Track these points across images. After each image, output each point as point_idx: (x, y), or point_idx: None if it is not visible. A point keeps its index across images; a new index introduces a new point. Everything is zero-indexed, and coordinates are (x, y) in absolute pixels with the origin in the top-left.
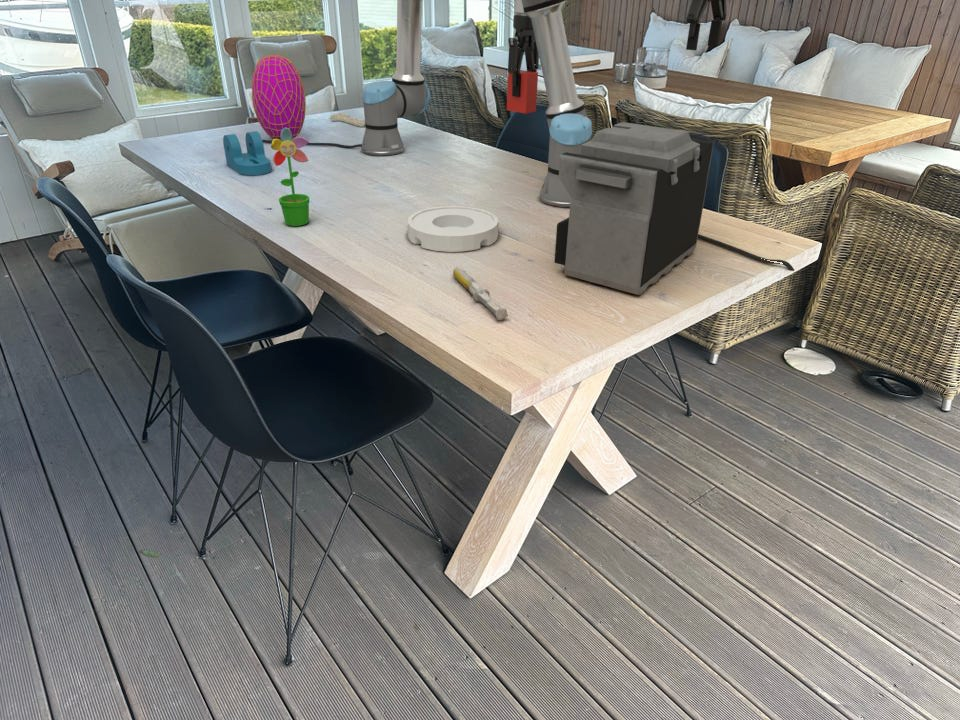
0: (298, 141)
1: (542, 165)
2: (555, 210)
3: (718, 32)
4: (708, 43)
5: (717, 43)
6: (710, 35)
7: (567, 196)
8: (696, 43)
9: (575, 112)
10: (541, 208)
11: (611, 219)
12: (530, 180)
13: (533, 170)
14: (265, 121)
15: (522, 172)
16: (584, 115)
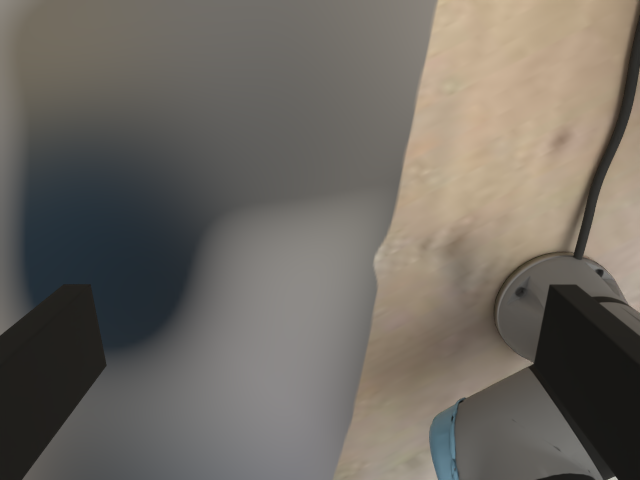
0: None
1: (341, 466)
2: (632, 282)
3: (5, 364)
4: (97, 371)
5: (60, 296)
6: (52, 418)
7: (618, 286)
8: (610, 315)
9: (583, 477)
10: None
11: None
12: None
13: (389, 459)
14: None
15: (418, 465)
16: (535, 458)
